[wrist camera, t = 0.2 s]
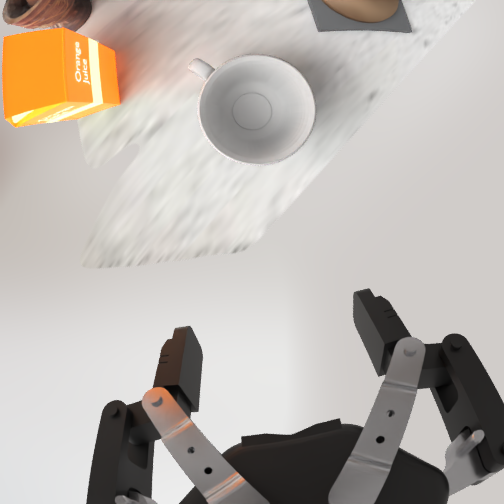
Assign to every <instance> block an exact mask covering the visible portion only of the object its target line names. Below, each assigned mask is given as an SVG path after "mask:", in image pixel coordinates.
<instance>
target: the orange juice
mask: <svg viewBox="0 0 504 504" xmlns="http://www.w3.org/2000/svg"><path fill="white" fill-rule="evenodd" d="M2 77H3V78H2V79H3V80H2V81H3V103H4V114H5V119H6V120H7V121H9V122H10V123H11V124H12V125H13V126H15V127H20V126H27V125H33V124H39V123H50V122H56V121H63V120H73V119H79V118H81V117H84V116H87V115H89V114H92V113H95V112H98V111H101V110H104V109H107V108H110V107H113V106H117V105H120V99H119V90H118V82H117V72H116V61H115V51H114V50H112V49H110V48H108V47H106V46H104V45H102V44H100V43H98V42H97V41H94V40H92V39H90V38H87V37H85V36H82V35H80V34H78V33H76V32H73V31H71V30H68V29H66V28H64V27H63V28H57V29H49V30H40V31H34V32H27V33H21V34H16V35H11V36H7V37H4V42H3V63H2Z"/></svg>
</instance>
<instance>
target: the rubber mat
mask: <svg viewBox="0 0 504 504" xmlns="http://www.w3.org/2000/svg"><path fill="white" fill-rule="evenodd" d="M308 3H309V6H310V9H311V11H312V14H313V17H314V20H315V23H316V26H317V29H318V32H322V31H344V30H371V31H392V32H405V33H410V32H412V30H411V27H410V23H409V21H408V18H407V15H406V12H405V9H404V7H403V4H402V1H401V0H399V3H398V7H397V10H396V12H395V13H394V14H393V15H392V16H391V17H389V18H387V19H385V20H383V21H381V22H377V23H362V22H357V21H354V20H351V19H348V18H346V17H344V16H342V15H340V14H338V13H336V12H335V11H333V10H332V9H330V8H329V7H328V6H327V5H326V4H324V3H323V2H322V1H321V0H308Z"/></svg>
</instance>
